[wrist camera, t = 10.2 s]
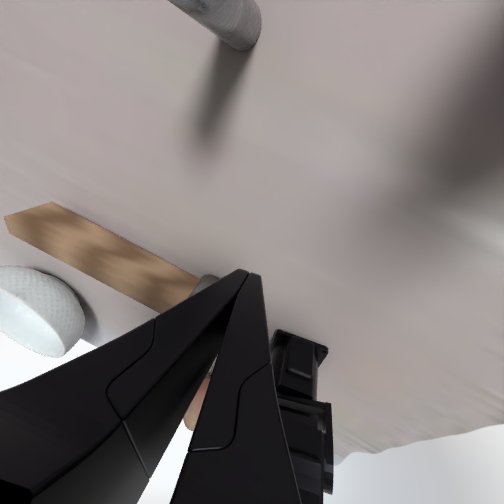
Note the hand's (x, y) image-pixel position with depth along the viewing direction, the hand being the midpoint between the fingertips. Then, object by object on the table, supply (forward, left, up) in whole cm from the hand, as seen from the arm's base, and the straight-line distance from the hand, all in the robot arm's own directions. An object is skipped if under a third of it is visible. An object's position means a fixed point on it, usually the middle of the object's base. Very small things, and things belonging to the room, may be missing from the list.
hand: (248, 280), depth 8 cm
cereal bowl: (-28, +34, -12) cm, 46 cm away
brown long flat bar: (-11, +15, -12) cm, 22 cm away
